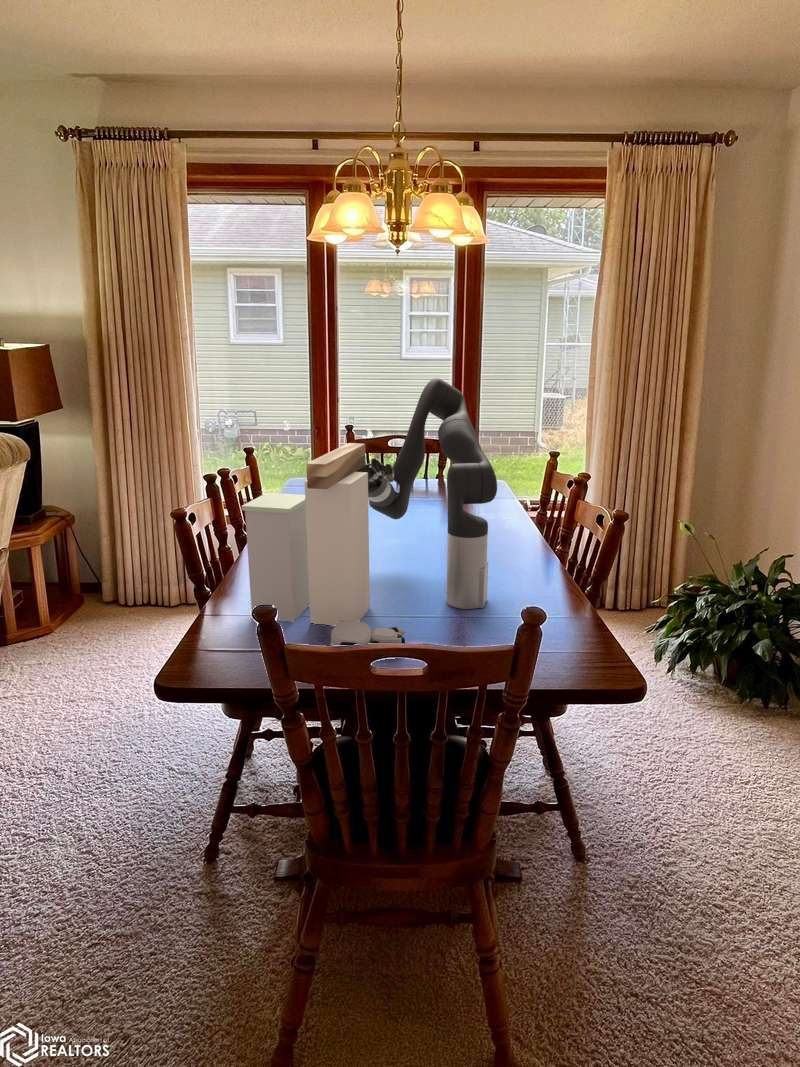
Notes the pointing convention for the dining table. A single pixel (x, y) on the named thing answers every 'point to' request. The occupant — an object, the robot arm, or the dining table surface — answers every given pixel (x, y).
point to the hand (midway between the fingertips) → (355, 461)
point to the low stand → (278, 553)
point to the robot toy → (364, 634)
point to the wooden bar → (335, 466)
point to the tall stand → (338, 550)
